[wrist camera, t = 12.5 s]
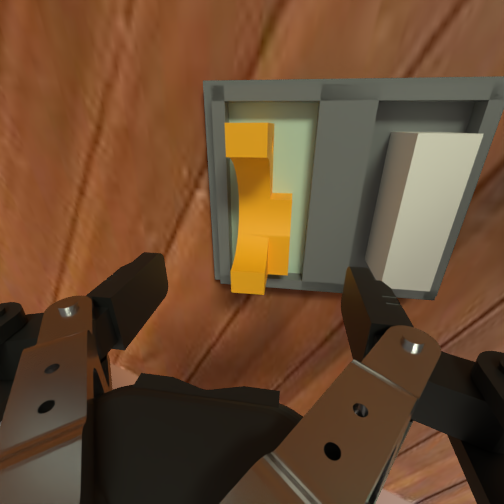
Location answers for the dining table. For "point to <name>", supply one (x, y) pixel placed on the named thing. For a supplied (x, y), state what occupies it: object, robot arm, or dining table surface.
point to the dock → (358, 173)
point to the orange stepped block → (257, 208)
